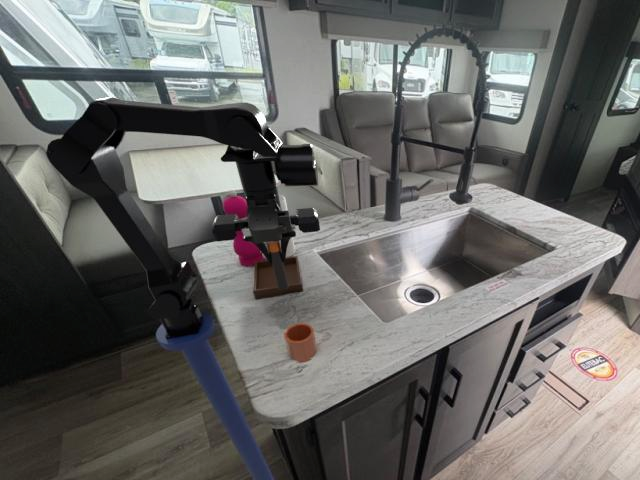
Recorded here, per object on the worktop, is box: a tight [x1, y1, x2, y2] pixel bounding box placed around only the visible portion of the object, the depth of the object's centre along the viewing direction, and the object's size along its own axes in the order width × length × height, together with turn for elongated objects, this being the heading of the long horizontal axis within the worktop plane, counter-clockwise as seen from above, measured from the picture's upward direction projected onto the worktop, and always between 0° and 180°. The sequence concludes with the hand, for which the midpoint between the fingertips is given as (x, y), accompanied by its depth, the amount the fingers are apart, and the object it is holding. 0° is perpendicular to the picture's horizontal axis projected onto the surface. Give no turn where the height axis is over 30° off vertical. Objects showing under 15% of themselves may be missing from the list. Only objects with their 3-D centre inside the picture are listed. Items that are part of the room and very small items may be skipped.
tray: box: [252, 255, 304, 300], centre depth 83 cm, size 11×14×2 cm
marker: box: [267, 241, 289, 290], centre depth 67 cm, size 2×2×11 cm
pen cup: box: [283, 322, 318, 364], centre depth 62 cm, size 5×5×6 cm
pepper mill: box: [222, 190, 265, 267], centre depth 85 cm, size 7×7×20 cm
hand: (277, 262), depth 67 cm, fingers closed on marker, 2 cm apart
